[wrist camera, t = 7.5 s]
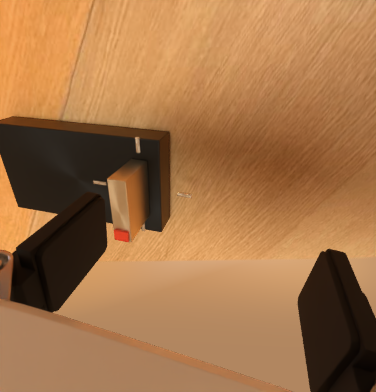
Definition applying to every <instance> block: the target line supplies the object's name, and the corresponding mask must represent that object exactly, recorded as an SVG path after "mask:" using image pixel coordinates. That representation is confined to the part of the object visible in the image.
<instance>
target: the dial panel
mask: <svg viewBox="0 0 376 392" xmlns="http://www.w3.org/2000/svg"><path fill="white" fill-rule="evenodd" d="M0 155H1V158H2V161H3V164H4V166H5V169H6V172H7V175H8V178H9V181H10V184H11V187H12V190H13V193H14V195H15V198H16V201H17V204H18V207H22V208H28V209H33V210H39V211H45V212H50V213H56V214H59V213H60V212H62V211H63V210H64V209H65V208H67V207H68V206H69V205H71V204H72V203H73V202H74V201H76V200H77V199H78V198H79V197H81V196H82V195H83V194H84V193H86V192H92V193H97V194H100V195H101V196H102V198H103V199H104V200H105V214H106V222H107V223H112V224H113V220H112V212H111V205H110V198H109V190H108V183H107V179H108V178H109V177H110V176H111V175H112V174H114V173H115V172H116V171H117V170H118V169H120V168H121V167H122V166H123V165H124V164H126V163H127V162H128V161H129V160H131V159H135V160H143V161H147V170H148V191H149V211H150V216H149V217H148V219H147V220H146V221H145V223H144V224H143V226H142V227H141V229H142V231H145V229H146V230H152V231H158V232H162V230H163V229H164V227H165V225H166V223H167V221H168V219H169V218H170V163H169V132H166V131H156V130H146V129H136V128H126V127H115V126H105V125H95V124H85V123H75V122H64V121H54V120H44V119H34V118H24V117H9V118H5V119H1V120H0ZM177 196H181V197H188V198H192V194H188V193H181V192H177Z"/></svg>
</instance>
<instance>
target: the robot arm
mask: <svg viewBox="0 0 376 392" xmlns="http://www.w3.org/2000/svg"><path fill="white" fill-rule="evenodd" d="M106 248H107V231H106V214H105V200H104V199H103V198H102V196H101V195H100V194H97V193H92V192H86V193H84V194H83V195H82V196H81V197H79V198H78V199H77V200H76V201H74V202H73V203H72V204H71V205H69V206H68V207H67V208H65V209H64V210H63V211H62V212H60V213H59V214H58V215H57V216H55V217H54V218H53V219H52V220H50V221H49V222H48V223H47V224H45V225H44V226H43V227H41V228H40V229H39V230H38V231H36V232H35V233H34V234H33V235H31V236H30V237H29V238H28V239H26V240H25V241H24V242H22V243H21V244H20V245H19V246H17V247H16V251H15V252H13V253H12V254H11V253H10V252H8V251H5V250H0V392H292V391H290V390H287V389H284V388H281V387H279V386H276V385H273V384H270V383H267V382H264V381H261V380H258V379H255V378H252V377H249V376H246V375H243V374H239V373H237V372H234V371H231V370H228V369H225V368H222V367H219V366H216V365H212V364H209V363H206V362H204V361H200V360H197V359H194V358H191V357H188V356H185V355H182V354H179V353H176V352H173V351H169V350H167V349H163V348H161V347H157V346H155V345H151V344H148V343H145V342H142V341H139V340H136V339H133V338H130V337H127V336H123V335H121V334H117V333H114V332H111V331H108V330H105V329H102V328H99V327H96V326H92V325H89V324H86V323H83V322H80V321H77V320H74V319H70V318H67V317H64V316H61V315H58V314H54V313H53V312H54V311H57V310H59V309H60V308H61V306H62V305H63V304H64V302H65V301H66V300H67V299H68V297H69V296H70V295H71V294H72V292H73V291H74V290H75V289H76V287H77V286H78V285H79V284H80V282H81V281H82V280H83V278H84V277H85V276H86V275H87V273H88V272H89V271H90V270H91V268H92V267H93V266H94V264H95V263H96V262H97V261H98V260H99V258H100V257H101V256H102V254H103V253H104V252H105V250H106ZM298 310H299V317H300V323H301V330H302V337H303V344H304V350H305V358H306V364H307V371H308V378H309V385H310V391H311V392H376V318H375V316H374V313H373V312H372V309H371V307H370V304H369V302H368V300H367V297H366V296H365V294H364V293H362V291H361V288H360V286H359V284H358V281H357V279H356V277H355V274H354V272H353V270H352V267H351V265H350V262H349V260H348V258H347V255H346V254H345V253H344V252H340V251H336V250H332V249H327V250H326V252H324V251H322V252H321V253H320V255H319V257H318V259H317V261H316V263H315V265H314V267H313V269H312V271H311V273H310V275H309V277H308V279H307V281H306V283H305V285H304V287H303V289H302V291H301V293H300V295H299V297H298Z"/></svg>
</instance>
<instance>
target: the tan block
mask: <svg viewBox="0 0 376 392" xmlns="http://www.w3.org/2000/svg"><path fill="white" fill-rule="evenodd" d="M107 183H108V190H109V198H110V205H111V212H112V220H113V227H114V236H115V240H120V241H125V242H132V241H133V239H134V238H135V236H136V235H137V233H138V232H139V230H140V229H141V227H142V226H143V224H144V223H145V221H146V220H147V219H148V217H149V216H150V211H149V191H148V170H147V161H143V160H135V159H131V160H129V161H128V162H127V163H126V164H124V165H123V166H122V167H121V168H120V169H118V170H117V171H116V172H115V173H114V174H112V175H111V176H110V177H109V178H108V179H107Z"/></svg>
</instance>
